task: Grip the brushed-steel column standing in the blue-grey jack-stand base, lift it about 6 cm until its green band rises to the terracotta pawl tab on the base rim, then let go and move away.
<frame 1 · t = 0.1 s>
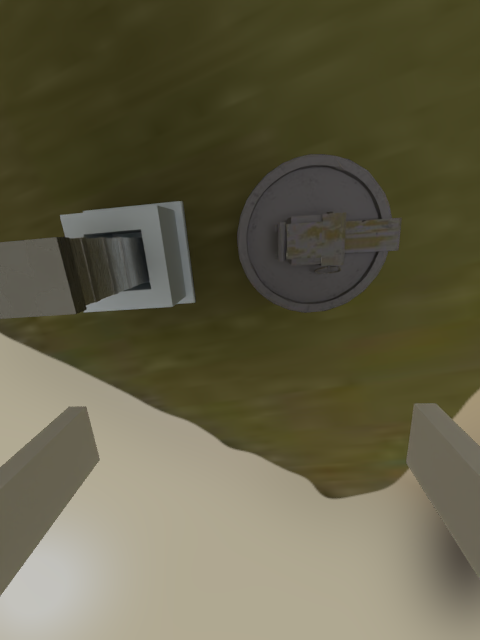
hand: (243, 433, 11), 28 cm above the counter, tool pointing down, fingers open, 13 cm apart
column: (99, 265, 28), point 11 cm above the counter, slide at 0.0 cm
stand base: (143, 257, 38), on the counter
canister: (291, 237, 36), on the counter
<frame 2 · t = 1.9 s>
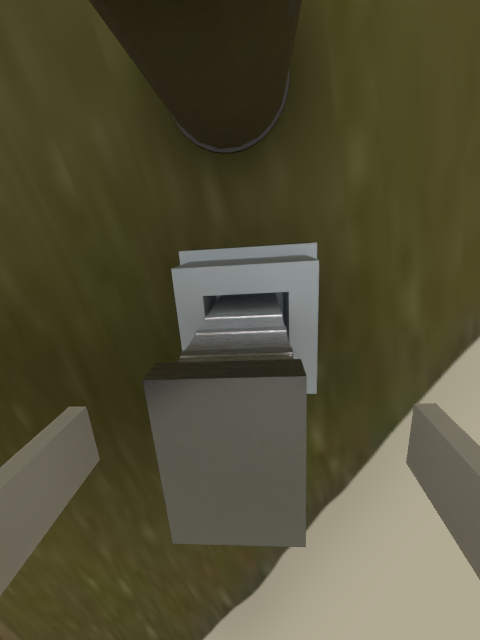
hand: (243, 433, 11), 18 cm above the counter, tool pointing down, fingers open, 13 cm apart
column: (245, 354, 19), point 11 cm above the counter, slide at 0.0 cm
stand base: (250, 311, 29), on the counter
canister: (225, 80, 23), on the counter
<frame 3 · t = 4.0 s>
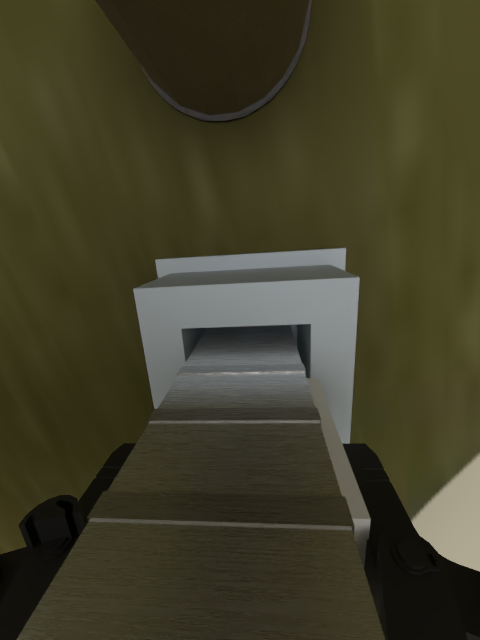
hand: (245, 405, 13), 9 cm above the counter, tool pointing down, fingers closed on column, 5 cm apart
column: (243, 431, 11), point 11 cm above the counter, slide at 0.0 cm, touching gripper
stand base: (252, 339, 21), on the counter
canister: (218, 15, 16), on the counter
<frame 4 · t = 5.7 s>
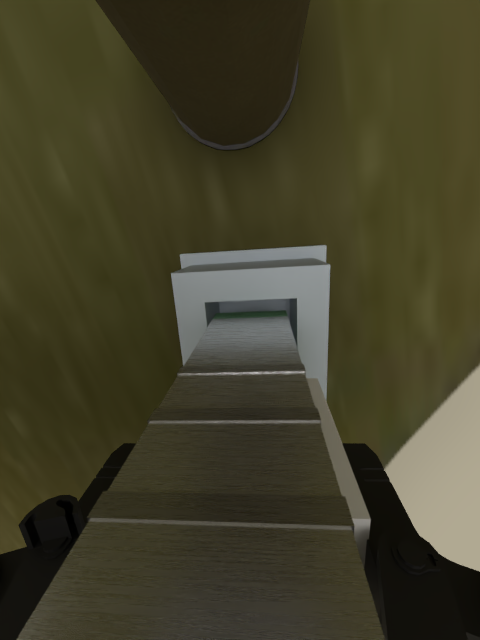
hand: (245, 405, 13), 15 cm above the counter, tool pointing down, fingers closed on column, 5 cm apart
column: (243, 431, 11), point 17 cm above the counter, slide at 6.0 cm, touching gripper
stand base: (255, 317, 27), on the counter
canister: (230, 73, 22), on the counter
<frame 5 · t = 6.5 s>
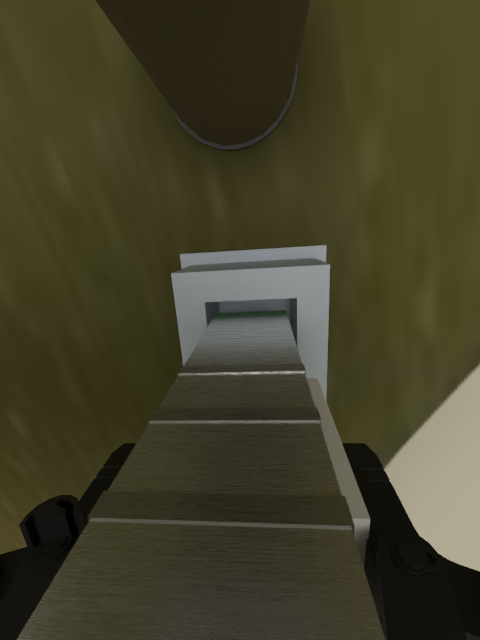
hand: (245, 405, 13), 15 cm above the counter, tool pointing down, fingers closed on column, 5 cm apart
column: (243, 431, 11), point 17 cm above the counter, slide at 6.0 cm, touching gripper
stand base: (255, 317, 27), on the counter
canister: (230, 73, 22), on the counter
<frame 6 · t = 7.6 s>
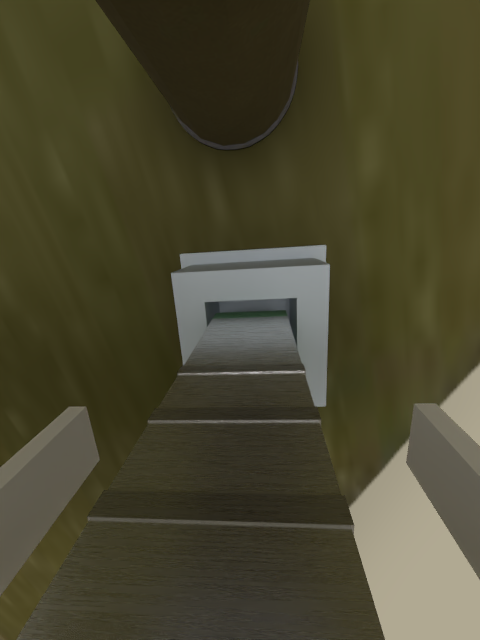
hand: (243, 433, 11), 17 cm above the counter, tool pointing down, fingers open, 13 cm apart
column: (243, 431, 11), point 17 cm above the counter, slide at 6.0 cm
stand base: (254, 317, 27), on the counter
canister: (229, 73, 22), on the counter
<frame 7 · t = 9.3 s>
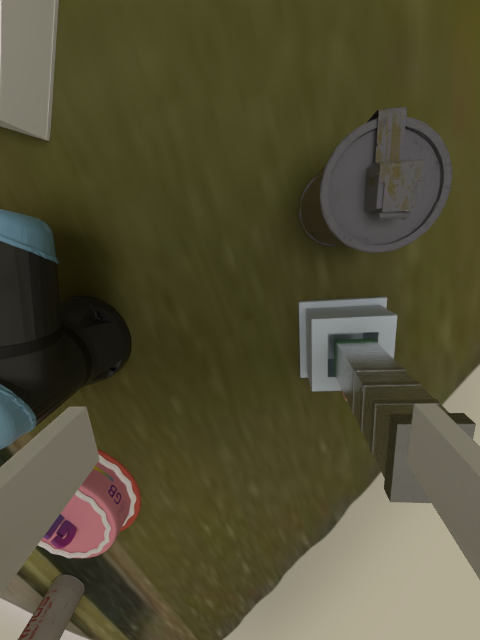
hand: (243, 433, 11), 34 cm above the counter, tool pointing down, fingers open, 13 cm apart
column: (379, 393, 29), point 17 cm above the counter, slide at 6.0 cm
thermos bottle: (70, 584, 71), on the counter
cake: (86, 489, 61), on the counter
stand base: (340, 338, 45), on the counter
canister: (335, 206, 40), on the counter
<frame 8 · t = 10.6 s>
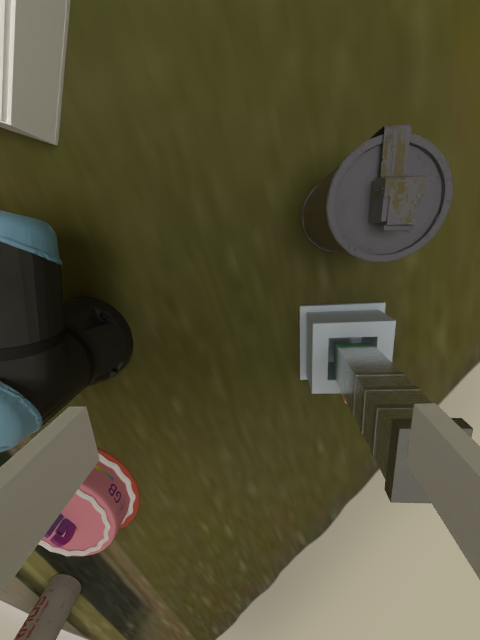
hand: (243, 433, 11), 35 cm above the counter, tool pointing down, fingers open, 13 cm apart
column: (379, 397, 30), point 17 cm above the counter, slide at 6.0 cm
thermos bottle: (67, 583, 71), on the counter
white box: (3, 57, 38), on the counter
cake: (85, 488, 61), on the counter
stand base: (339, 341, 46), on the counter
canister: (337, 213, 41), on the counter
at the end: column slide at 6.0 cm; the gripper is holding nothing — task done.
